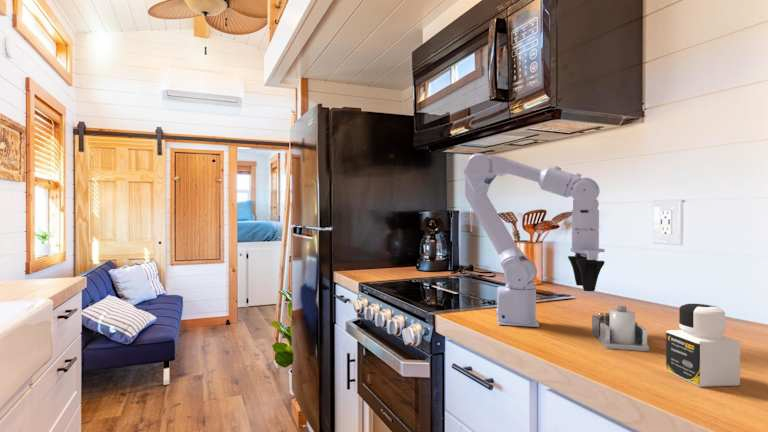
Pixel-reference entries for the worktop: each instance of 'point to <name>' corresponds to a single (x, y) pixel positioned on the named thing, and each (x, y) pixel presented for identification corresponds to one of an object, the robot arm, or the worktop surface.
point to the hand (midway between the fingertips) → (585, 288)
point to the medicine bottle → (703, 348)
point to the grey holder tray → (603, 335)
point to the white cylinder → (622, 325)
